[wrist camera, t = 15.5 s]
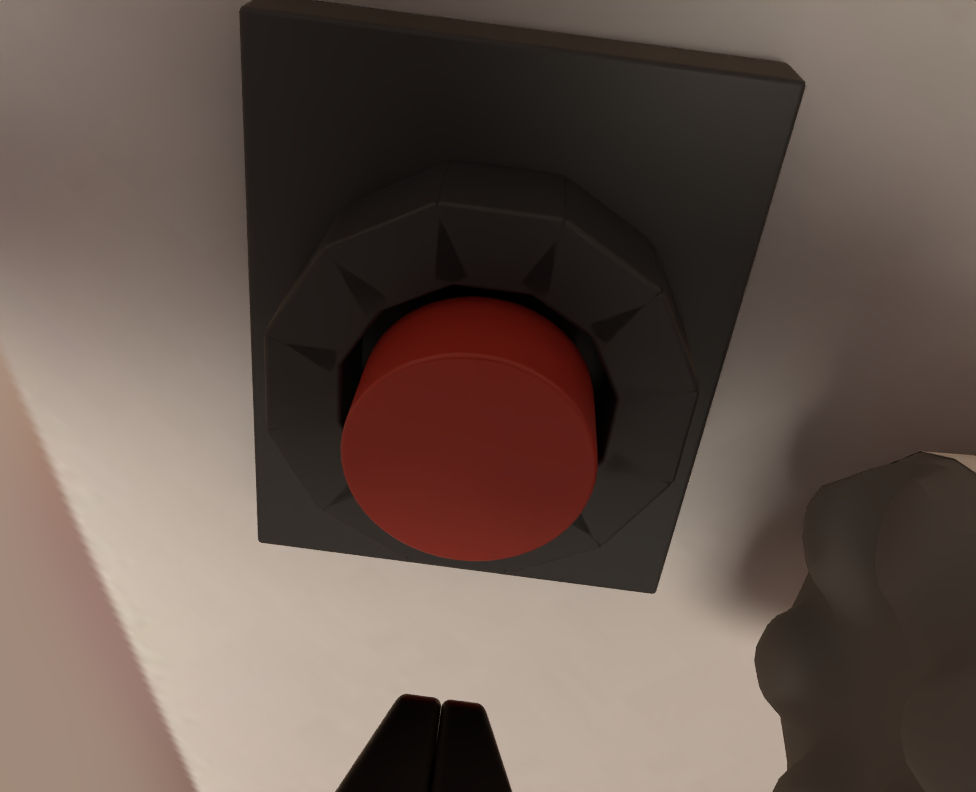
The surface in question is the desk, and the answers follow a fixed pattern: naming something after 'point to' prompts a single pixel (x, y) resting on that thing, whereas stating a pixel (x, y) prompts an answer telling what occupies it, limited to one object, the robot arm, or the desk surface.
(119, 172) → the desk surface
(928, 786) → the cup
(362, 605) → the desk surface
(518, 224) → the button block
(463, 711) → the robot arm
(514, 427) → the red button
